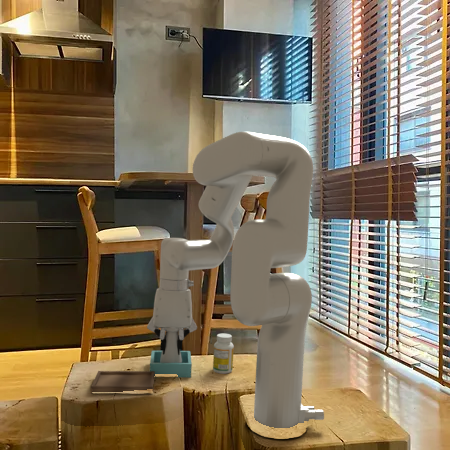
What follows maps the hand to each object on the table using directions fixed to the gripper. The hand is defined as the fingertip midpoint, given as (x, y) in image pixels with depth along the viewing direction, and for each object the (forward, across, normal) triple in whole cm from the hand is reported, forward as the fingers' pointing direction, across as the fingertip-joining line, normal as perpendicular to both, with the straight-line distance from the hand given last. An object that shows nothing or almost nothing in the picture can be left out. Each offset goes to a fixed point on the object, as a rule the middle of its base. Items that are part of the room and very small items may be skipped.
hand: (171, 352), depth 129 cm
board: (+5, +11, +11) cm, 16 cm away
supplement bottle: (+5, -14, 0) cm, 15 cm away
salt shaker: (+5, 0, 0) cm, 5 cm away
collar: (+5, 0, 0) cm, 5 cm away
